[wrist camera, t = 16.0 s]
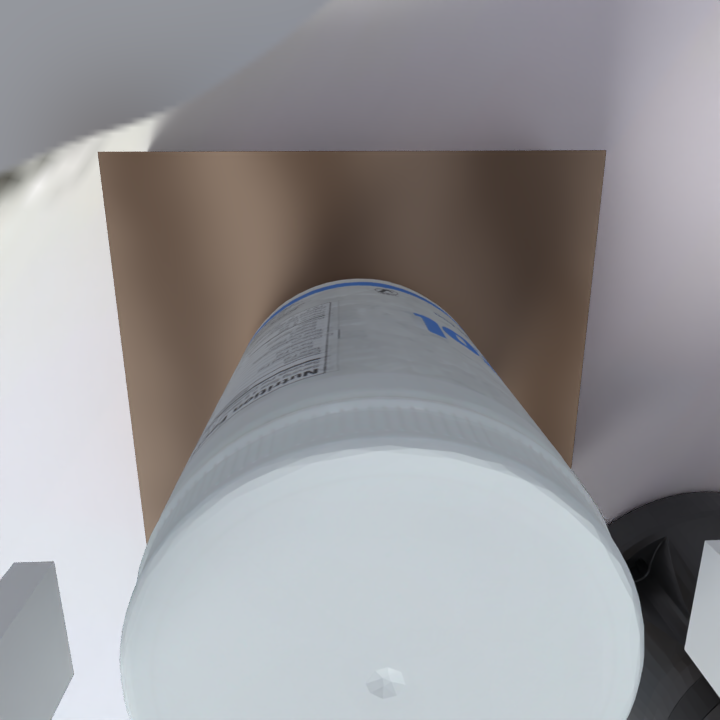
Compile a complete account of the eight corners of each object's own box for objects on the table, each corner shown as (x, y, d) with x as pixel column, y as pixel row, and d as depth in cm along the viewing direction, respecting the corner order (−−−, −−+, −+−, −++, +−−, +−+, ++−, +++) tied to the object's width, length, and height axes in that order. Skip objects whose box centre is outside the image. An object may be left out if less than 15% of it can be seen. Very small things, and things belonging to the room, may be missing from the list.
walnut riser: (549, 152, 28) (606, 150, 22) (520, 504, 34) (559, 574, 28) (145, 154, 27) (97, 151, 22) (182, 513, 33) (152, 588, 27)
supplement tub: (525, 385, 25) (775, 668, 11) (363, 538, 27) (401, 950, 13) (348, 217, 23) (381, 305, 9) (184, 397, 24) (-8, 711, 10)
